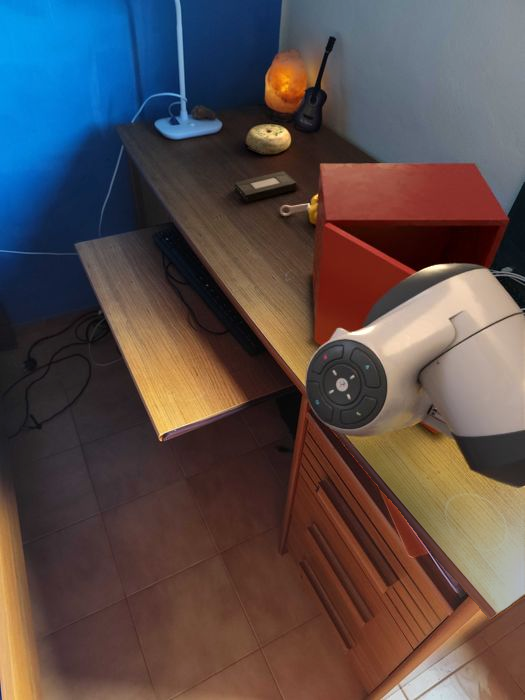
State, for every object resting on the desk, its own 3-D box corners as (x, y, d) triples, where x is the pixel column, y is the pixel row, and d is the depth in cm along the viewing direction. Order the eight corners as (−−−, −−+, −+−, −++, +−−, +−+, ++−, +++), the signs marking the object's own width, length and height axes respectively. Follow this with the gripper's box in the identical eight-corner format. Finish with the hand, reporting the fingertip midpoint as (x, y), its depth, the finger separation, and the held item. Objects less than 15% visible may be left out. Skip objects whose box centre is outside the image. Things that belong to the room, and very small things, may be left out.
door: (409, 457, 67) (455, 342, 50) (289, 356, 81) (292, 240, 64) (439, 430, 70) (491, 313, 53) (318, 338, 84) (328, 222, 67)
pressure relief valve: (329, 207, 115) (332, 229, 108) (281, 214, 117) (282, 237, 110) (327, 186, 111) (330, 208, 104) (278, 195, 113) (278, 217, 106)
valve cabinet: (461, 338, 83) (509, 219, 66) (315, 337, 84) (325, 219, 67) (438, 277, 96) (474, 162, 78) (312, 276, 97) (320, 163, 79)
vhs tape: (235, 189, 123) (234, 182, 122) (283, 178, 127) (283, 170, 126) (246, 202, 118) (246, 195, 117) (296, 189, 122) (296, 182, 121)
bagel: (294, 154, 137) (294, 137, 134) (249, 158, 136) (248, 140, 132) (286, 136, 146) (286, 119, 143) (244, 139, 145) (243, 122, 142)
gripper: (504, 413, 44) (506, 409, 56) (326, 320, 53) (361, 334, 65) (470, 469, 45) (479, 454, 57) (301, 368, 54) (340, 373, 66)
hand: (415, 389), depth 61 cm, fingers closed, pressing on door
